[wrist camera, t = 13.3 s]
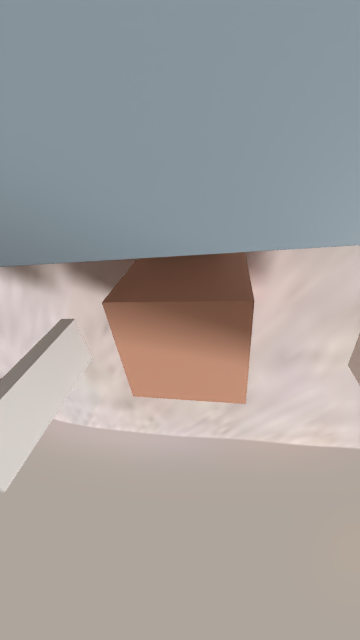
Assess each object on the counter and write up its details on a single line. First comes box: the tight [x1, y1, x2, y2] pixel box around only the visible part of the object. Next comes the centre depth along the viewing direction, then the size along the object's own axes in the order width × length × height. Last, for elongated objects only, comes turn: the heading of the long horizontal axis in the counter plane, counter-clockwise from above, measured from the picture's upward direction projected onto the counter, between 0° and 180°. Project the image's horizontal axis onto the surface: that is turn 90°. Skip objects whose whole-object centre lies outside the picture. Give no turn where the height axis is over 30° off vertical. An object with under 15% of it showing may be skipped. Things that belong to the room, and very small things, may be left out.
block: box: [102, 252, 254, 404], centre depth 12 cm, size 5×5×7 cm
